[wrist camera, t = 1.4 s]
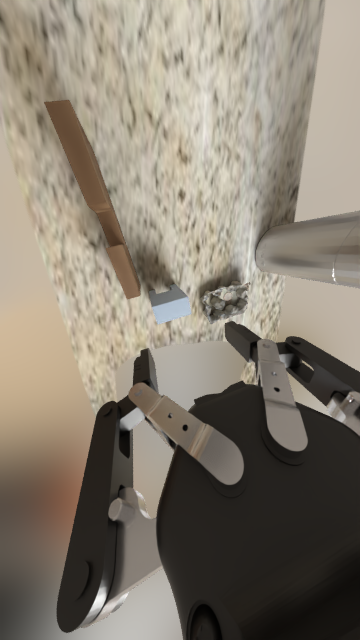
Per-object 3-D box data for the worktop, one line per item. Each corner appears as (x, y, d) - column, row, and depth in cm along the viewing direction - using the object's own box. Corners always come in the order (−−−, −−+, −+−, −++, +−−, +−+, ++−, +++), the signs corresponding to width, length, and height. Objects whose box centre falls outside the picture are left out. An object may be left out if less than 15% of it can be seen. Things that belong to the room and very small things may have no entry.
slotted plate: (93, 151, 18) (69, 99, 12) (140, 285, 27) (140, 295, 21) (77, 153, 17) (44, 102, 11) (130, 288, 26) (127, 299, 20)
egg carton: (240, 277, 32) (253, 280, 28) (240, 306, 35) (251, 312, 32) (198, 290, 30) (205, 295, 27) (202, 319, 34) (209, 326, 30)
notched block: (175, 284, 28) (188, 296, 20) (178, 297, 30) (191, 314, 22) (148, 291, 27) (151, 307, 20) (153, 304, 29) (157, 324, 21)
